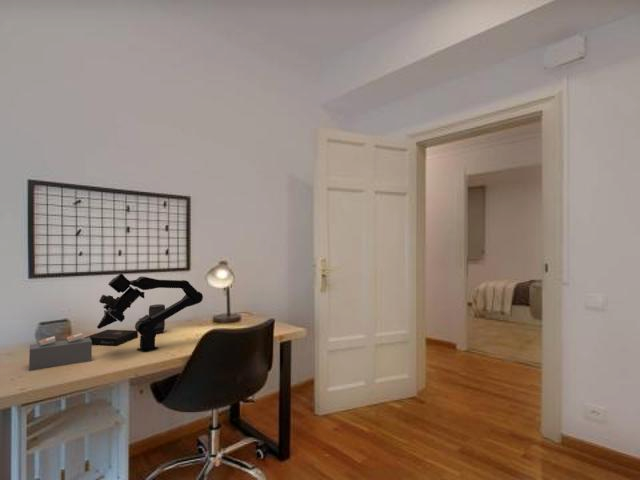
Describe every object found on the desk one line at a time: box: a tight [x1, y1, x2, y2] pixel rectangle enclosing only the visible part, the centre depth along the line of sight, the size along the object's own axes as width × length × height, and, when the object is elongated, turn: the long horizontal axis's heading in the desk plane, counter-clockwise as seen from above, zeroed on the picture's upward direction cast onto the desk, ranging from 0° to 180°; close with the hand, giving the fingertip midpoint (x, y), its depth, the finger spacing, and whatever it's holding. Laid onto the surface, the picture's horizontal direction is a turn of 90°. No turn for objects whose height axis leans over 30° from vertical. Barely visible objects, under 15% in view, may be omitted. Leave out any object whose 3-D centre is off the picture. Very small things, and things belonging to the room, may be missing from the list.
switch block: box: [28, 337, 93, 372], centre depth 145 cm, size 20×8×8 cm, turn 128°
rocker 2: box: [66, 332, 84, 342], centre depth 148 cm, size 5×4×1 cm
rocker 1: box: [38, 335, 57, 346], centre depth 143 cm, size 5×4×1 cm
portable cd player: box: [83, 329, 139, 347], centre depth 179 cm, size 16×17×4 cm
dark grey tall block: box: [148, 303, 166, 335], centre depth 196 cm, size 8×8×15 cm
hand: (97, 328), depth 153 cm, fingers closed
